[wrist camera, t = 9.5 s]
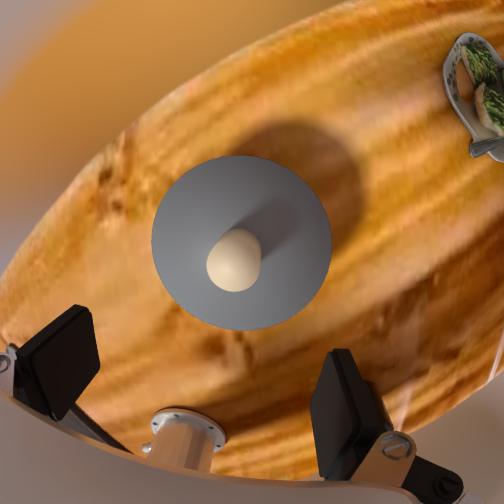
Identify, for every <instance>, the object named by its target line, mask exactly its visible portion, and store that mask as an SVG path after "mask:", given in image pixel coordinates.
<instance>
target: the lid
mask: <svg viewBox="0 0 504 504" xmlns="http://www.w3.org/2000/svg"><path fill="white" fill-rule="evenodd" d="M151 243H152V254H153V259H154V264H155V267H156V270H157V273H158V275H159V277H160V279H161V281H162V283H163V285H164V286H165V288H166V290H167V291H168V293H169V294H170V295H171V296H172V297H173V299H174V300H175V301H176V302H177V303H178V304H179V305H180V306H181V307H182V308H183V309H185V310H186V311H187V312H189V313H190V314H191V315H193V316H194V317H196V318H198V319H200V320H201V321H204V322H206V323H208V324H211V325H213V326H217V327H220V328H224V329H230V330H241V331H247V330H258V329H263V328H267V327H271V326H274V325H277V324H279V323H281V322H284V321H286V320H287V319H289V318H291V317H292V316H294V315H296V314H297V313H298V312H299V311H301V310H302V309H303V308H304V307H305V306H306V305H307V304H308V303H309V302H310V301H311V300H312V299H313V298H314V296H315V295H316V294H317V292H318V291H319V289H320V287H321V286H322V284H323V282H324V280H325V277H326V275H327V272H328V269H329V265H330V261H331V253H332V235H331V229H330V224H329V221H328V218H327V215H326V212H325V210H324V208H323V206H322V204H321V202H320V200H319V199H318V197H317V196H316V194H315V193H314V191H313V190H312V189H311V188H310V187H309V186H308V184H307V183H306V182H305V181H304V180H302V179H301V178H300V177H299V176H298V175H297V174H295V173H294V172H292V171H291V170H289V169H288V168H286V167H284V166H282V165H280V164H278V163H276V162H273V161H271V160H267V159H264V158H260V157H255V156H248V155H232V156H225V157H219V158H216V159H212V160H209V161H206V162H204V163H202V164H199V165H197V166H196V167H194V168H192V169H191V170H189V171H188V172H186V173H185V174H184V175H183V176H181V177H180V178H179V179H178V180H177V181H176V182H175V183H174V184H173V185H172V186H171V187H170V189H169V190H168V192H167V193H166V194H165V196H164V197H163V199H162V201H161V203H160V205H159V207H158V210H157V212H156V215H155V218H154V223H153V228H152V240H151Z"/></svg>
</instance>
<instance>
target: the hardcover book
mask: <svg viewBox="0 0 504 504" xmlns="http://www.w3.org/2000/svg"><path fill="white" fill-rule="evenodd" d="M57 423H59V424H61V425H63V426H65V427H67V428H69V429H71V430H73V431H76V432H78V433H80V434H82V435H84V436H87V437H89V438H91V439H94V440H96V441H99V442H101V443H104V444H106V445H109V446H111V447H114V448H117V449H120V450H122V451H125V452H128V451H127V450H125V449H124V448H123V447H122V446H120V445H119V444H118V443H117V442H115V441H114V440H113V439H112V438H111V437H109V436H108V435H107V434H106V433H105V432H103V431H102V430H101V429H100V428H99V427H98V426H97V425H96V424H94V423H93V422H92V421H91V420H90V419H89V418H88V417H87V416H86V415H85V414H84V413H83V412H82V411H81V410H80V409H79V408H78V407H77V406H76V405H75V404H73V406H72V407H71V408H70V410H69V411H68V412H67V414H66V415H65V417H64V418H63V419H62V420H61V421H58V422H57ZM128 453H129V452H128Z"/></svg>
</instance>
